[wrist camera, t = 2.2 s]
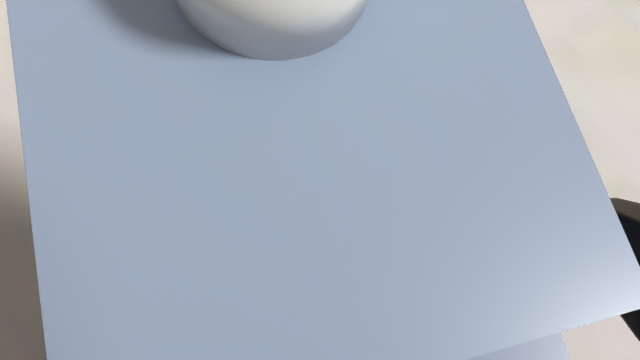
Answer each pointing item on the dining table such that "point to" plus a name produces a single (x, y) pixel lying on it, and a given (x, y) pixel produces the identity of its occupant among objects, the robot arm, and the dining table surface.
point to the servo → (308, 182)
